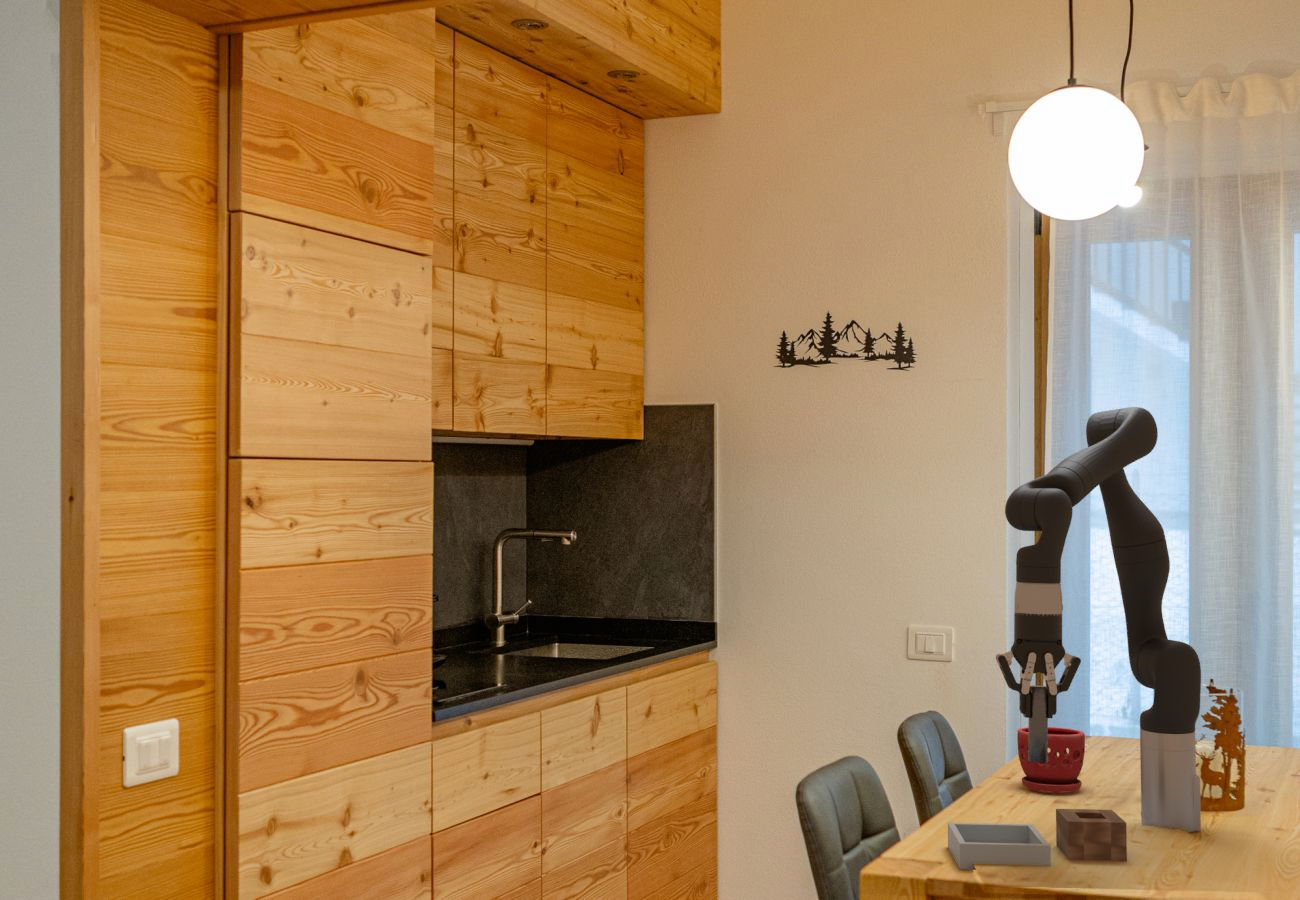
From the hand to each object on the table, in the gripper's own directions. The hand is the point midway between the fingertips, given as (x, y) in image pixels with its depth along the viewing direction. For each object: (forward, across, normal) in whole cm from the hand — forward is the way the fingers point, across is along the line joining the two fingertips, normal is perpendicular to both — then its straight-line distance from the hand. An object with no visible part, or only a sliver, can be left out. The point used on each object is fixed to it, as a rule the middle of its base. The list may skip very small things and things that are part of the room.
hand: (1037, 716), depth 216 cm
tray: (+23, +6, 0) cm, 24 cm away
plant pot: (+22, -14, -55) cm, 61 cm away
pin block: (+23, -9, -1) cm, 24 cm away
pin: (+7, 0, 0) cm, 7 cm away
